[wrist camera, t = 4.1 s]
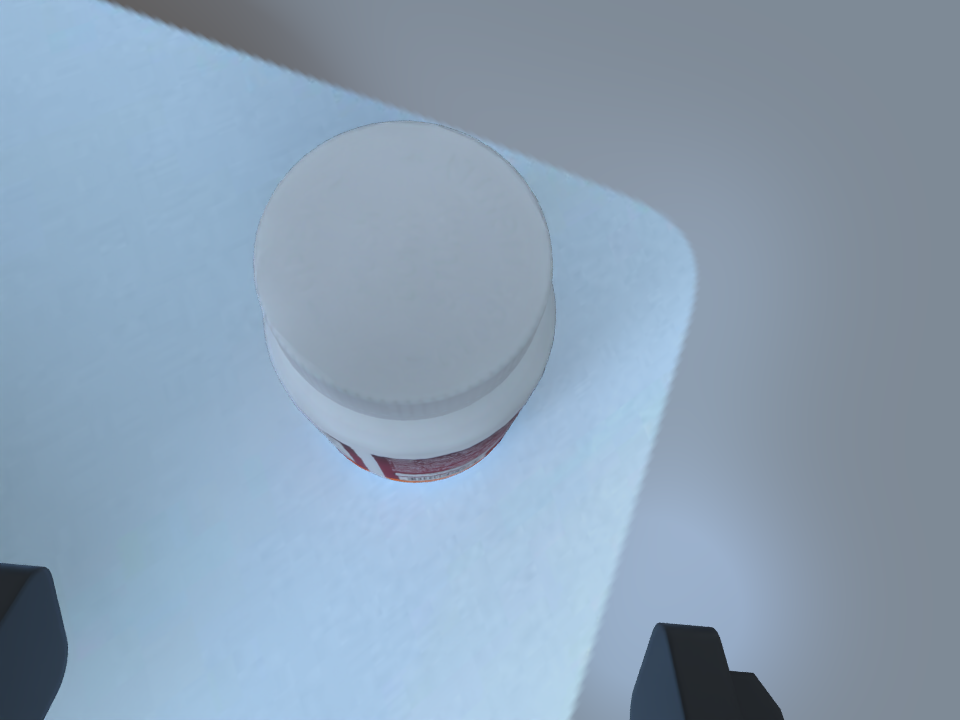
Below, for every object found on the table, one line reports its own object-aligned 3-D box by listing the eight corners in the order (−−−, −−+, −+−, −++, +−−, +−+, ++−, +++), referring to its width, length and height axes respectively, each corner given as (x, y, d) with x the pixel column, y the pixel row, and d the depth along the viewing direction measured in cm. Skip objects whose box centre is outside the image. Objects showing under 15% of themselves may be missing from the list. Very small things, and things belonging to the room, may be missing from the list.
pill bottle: (548, 334, 26) (640, 172, 15) (468, 519, 24) (503, 496, 13) (367, 254, 26) (323, 36, 15) (277, 433, 24) (154, 340, 13)
